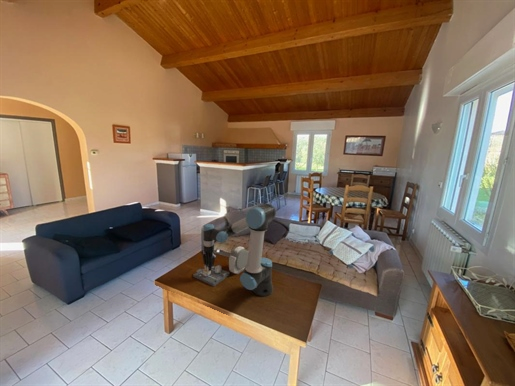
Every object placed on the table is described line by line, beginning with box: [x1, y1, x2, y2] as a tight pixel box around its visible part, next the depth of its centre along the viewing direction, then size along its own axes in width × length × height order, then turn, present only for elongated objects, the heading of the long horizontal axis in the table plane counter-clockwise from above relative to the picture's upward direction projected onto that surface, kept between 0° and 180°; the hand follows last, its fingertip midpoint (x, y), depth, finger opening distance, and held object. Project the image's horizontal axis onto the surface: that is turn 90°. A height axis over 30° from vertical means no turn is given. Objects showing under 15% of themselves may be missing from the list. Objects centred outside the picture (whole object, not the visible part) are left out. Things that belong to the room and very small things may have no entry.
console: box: [192, 265, 231, 287], centre depth 169 cm, size 21×18×4 cm
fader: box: [215, 264, 222, 273], centre depth 170 cm, size 3×4×4 cm
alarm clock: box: [228, 246, 249, 275], centre depth 176 cm, size 18×8×20 cm, turn 144°
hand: (208, 273), depth 165 cm, fingers closed
